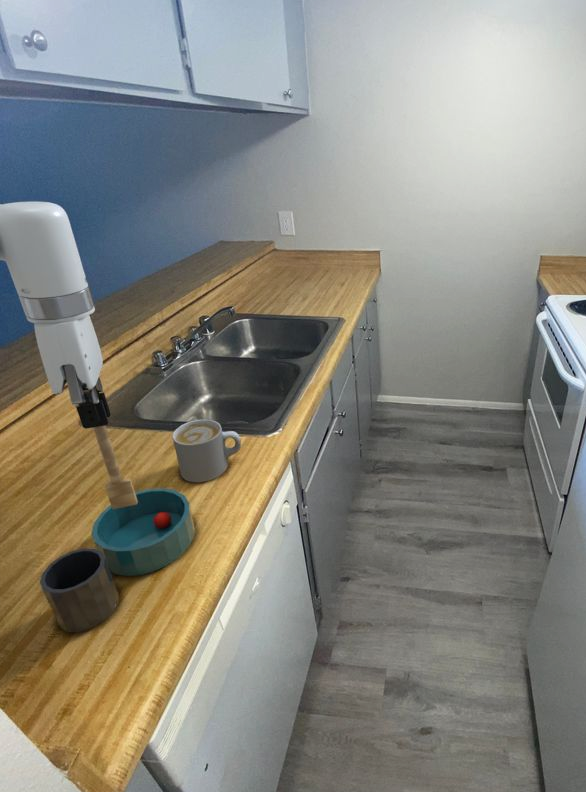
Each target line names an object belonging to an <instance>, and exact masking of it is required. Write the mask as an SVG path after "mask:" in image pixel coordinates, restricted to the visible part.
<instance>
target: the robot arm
mask: <svg viewBox="0 0 586 792" xmlns="http://www.w3.org/2000/svg"><path fill="white" fill-rule="evenodd" d="M0 261H4V262H5V263H6V265H7V269H8V271H9V273H10V276H11V280H12V282H13V285H14V287H15V290H16V293H17V295H18V298H19V301H20V304H21V306H22V309H23V312H24V315H25V317H26V320H27V321H28V322H30V323H31V324H33V327H34V333H35V339H36V343H37V347H38V351H39V355H40V358H41V361H42V365H43V369H44V372H45V375H46V378H47V381H48V384H49V388H50V390H51V392H52V393H53V394H54V395H61V393H63V391H64V389H65V387H66V385H67V389H68V394H69V398H70V403H71V404H72V405H74V407H75V408H76V412H77V415H78V418H79V420H80V424H81V426H82V428H83V429H93V427H99V426H106V427H107V426H108V425H109V417H111V415H112V414H111V410H110V407H109V403H108V400H107V396H106V393H105V392H103V391H104V388H103V384H102V381H101V377H100V374H101V371H102V368H103V365H104V358H103V354H102V350H101V346H100V343H99V340H98V336H97V333H96V329H95V327H94V325H93V321H92V319H91V316H90V315H93V313H94V312H95V311H96V308H95V304H94V301H93V296H92V293H91V291H90V290H91V289H90V286H89V284H88V280H87V277H86V273H85V270H84V266H83V263H82V260H81V256H80V253H79V248H78V245H77V242H76V240H75V236H74V232H73V229H72V226H71V221H70V219H69V216H68V214H67V212H66V210H65V209H64V208H63V207H62V206H60V205H59V204H57V203H53V202H49V201H18V202H16V201H15V202H9V203H3V204H2V203H0ZM85 390H89V392H90V393H89V392H83V391H85Z"/></svg>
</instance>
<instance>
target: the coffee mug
mask: <svg viewBox="0 0 586 792" xmlns="http://www.w3.org/2000/svg"><path fill="white" fill-rule="evenodd" d="M228 439H233V441H234V446H231V447H228V446H227V445H226V441H227V440H228ZM172 441H173V446H174V450H175V455H176V459H177V463H178V467H179V468H178V469H179V472H180V476H181V478H182V479H183V480H185V481H187V482H190V483H204V482H209V481H212V480H214V479H217V478H219V477H220V476H221V475H223V474H224V473H225V472H226V470H227V468H228V466H229V465H228V464H229V463H228V459H229V458H230V457H231V456H233V455H236V454H237V453H238V452H239V451H240V449H241V447H242V441H241V436H240V435H239V434H238V432H236V431H232V430H229V431H228V430H227V431H223V428H222V426H221V424H220V422H217V421H215V420H212V419H196V420H192V421H188V422H185V423H183V424H181V425H179V426H178V427H177V428H176V429H175V430H174V431H173V432H172Z"/></svg>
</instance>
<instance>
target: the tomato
mask: <svg viewBox="0 0 586 792" xmlns="http://www.w3.org/2000/svg"><path fill="white" fill-rule="evenodd" d="M170 523H171V516H170V515H169V514H168V513H166V512H161V513H159V514H157V515H156V516H155V518H154V525H155V526H156V527H157V528H161V529H162V528H166V527H167V526H168V525H169V524H170Z"/></svg>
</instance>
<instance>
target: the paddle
mask: <svg viewBox="0 0 586 792" xmlns="http://www.w3.org/2000/svg"><path fill="white" fill-rule="evenodd" d="M83 392H89V390H85V391H83ZM89 393H90V392H89ZM92 429H93V433H94V435H95V437H96V441H97V444H98V447H99V451H100V452H101V456H102V458H103V462H104V465H105V467H106V470H107V471H106V472H107V473H108V477H109V479H110V481H107V482H105V483H104V489H105V492H106V495H107V498H108V500H109V503H110V505H111V506H112V509H117V508H122V507H127V506H131V505H136V504H137V502H138V501H137V498H136V494H135V493H136V491H135V488H134V484H133V482H132V479H131V478H130V477H128V478H123V476H122V472H121V469H120V466H119V462H118V459H117V457H116V453H115V450H114V447H113V444H112V441H111V438H110V435H109V432H108V431H109V430H108V428H107V425H106V426H99V427H93V428H92Z"/></svg>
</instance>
